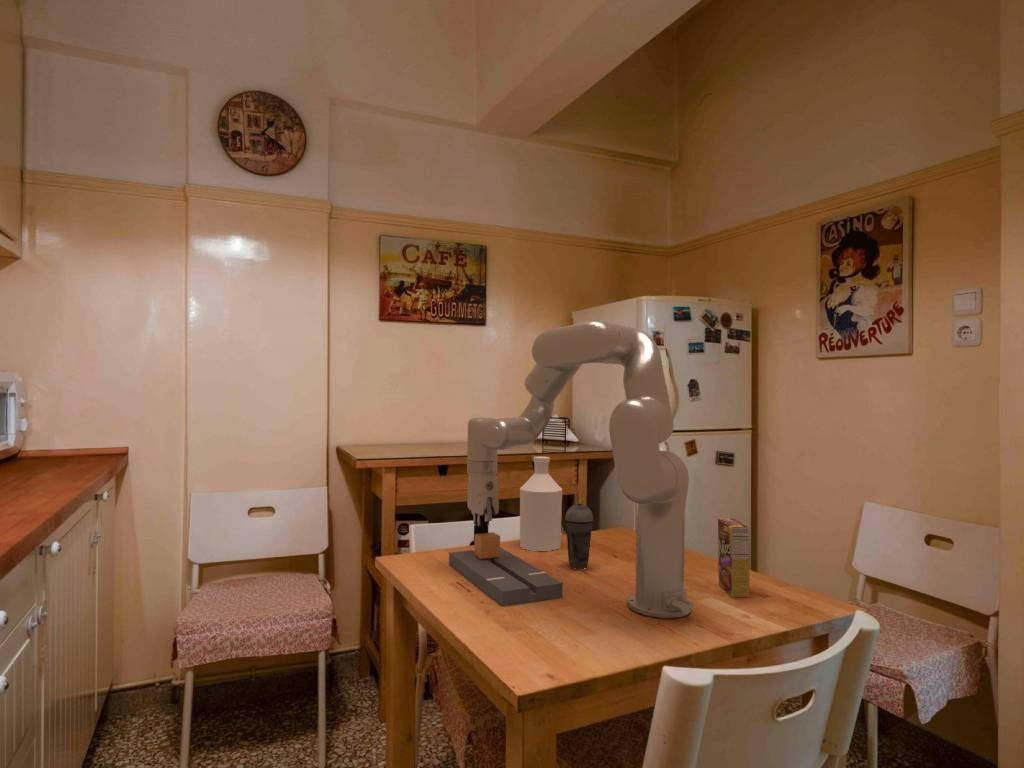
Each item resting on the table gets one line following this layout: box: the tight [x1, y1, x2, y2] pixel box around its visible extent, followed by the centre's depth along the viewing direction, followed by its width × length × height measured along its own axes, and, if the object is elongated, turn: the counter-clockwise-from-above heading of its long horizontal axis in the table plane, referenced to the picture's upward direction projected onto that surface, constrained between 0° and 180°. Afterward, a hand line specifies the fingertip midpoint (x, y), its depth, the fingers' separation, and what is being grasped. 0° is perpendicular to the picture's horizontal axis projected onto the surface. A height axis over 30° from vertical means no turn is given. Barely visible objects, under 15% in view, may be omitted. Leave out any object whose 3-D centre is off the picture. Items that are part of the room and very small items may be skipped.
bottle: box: [519, 456, 563, 552], centre depth 171 cm, size 12×12×25 cm
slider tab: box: [473, 532, 501, 562], centre depth 148 cm, size 4×5×7 cm
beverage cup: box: [564, 485, 595, 570], centre depth 152 cm, size 7×7×20 cm
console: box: [448, 546, 564, 607], centre depth 140 cm, size 32×14×3 cm, turn 25°
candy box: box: [717, 517, 751, 599], centre depth 135 cm, size 9×4×15 cm, turn 0°
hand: (480, 541), depth 152 cm, fingers closed
